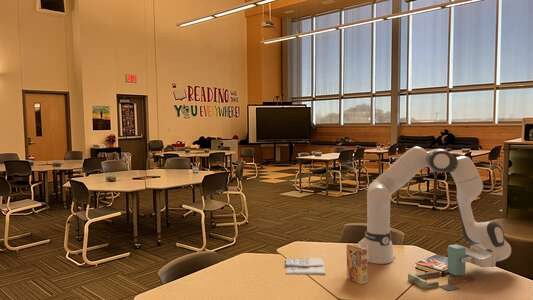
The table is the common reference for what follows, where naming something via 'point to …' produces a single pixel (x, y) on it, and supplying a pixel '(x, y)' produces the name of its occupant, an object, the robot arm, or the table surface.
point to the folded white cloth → (305, 262)
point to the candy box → (357, 263)
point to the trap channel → (424, 284)
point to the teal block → (456, 259)
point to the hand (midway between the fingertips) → (455, 257)
